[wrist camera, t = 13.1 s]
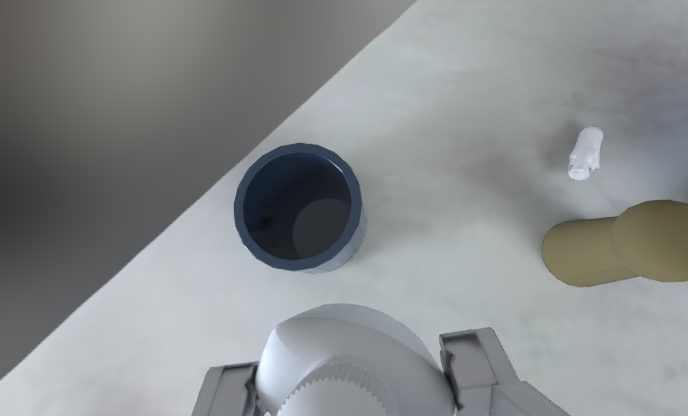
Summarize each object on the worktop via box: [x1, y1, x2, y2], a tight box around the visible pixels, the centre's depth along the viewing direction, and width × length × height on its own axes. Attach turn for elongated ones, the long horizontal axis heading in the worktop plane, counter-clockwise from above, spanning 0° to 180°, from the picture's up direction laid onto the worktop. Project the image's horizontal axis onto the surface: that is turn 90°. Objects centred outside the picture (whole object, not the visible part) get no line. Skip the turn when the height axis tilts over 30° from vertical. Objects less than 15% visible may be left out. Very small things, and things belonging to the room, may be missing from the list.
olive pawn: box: [542, 200, 688, 287], centre depth 24 cm, size 6×6×11 cm
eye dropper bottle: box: [255, 304, 455, 416], centre depth 10 cm, size 4×6×12 cm
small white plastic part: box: [567, 127, 603, 180], centre depth 30 cm, size 4×6×3 cm, turn 127°
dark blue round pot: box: [234, 143, 367, 274], centre depth 29 cm, size 10×10×8 cm
